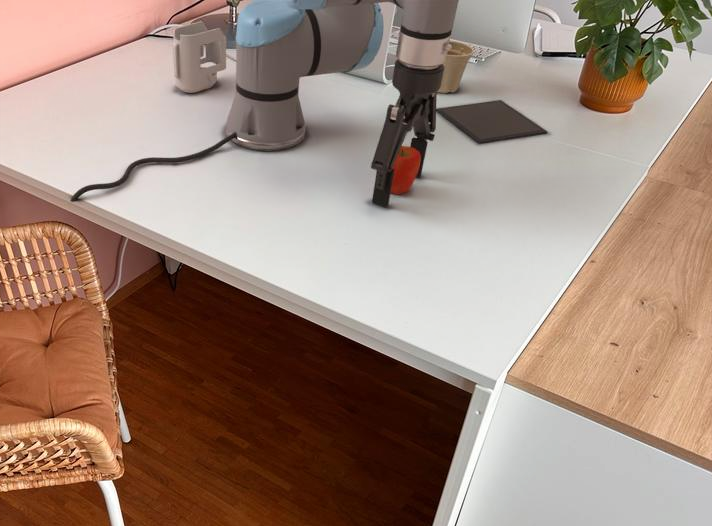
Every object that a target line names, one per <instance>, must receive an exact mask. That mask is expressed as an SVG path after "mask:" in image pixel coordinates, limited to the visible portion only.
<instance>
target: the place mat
mask: <svg viewBox="0 0 712 526" xmlns="http://www.w3.org/2000/svg"><path fill="white" fill-rule="evenodd" d="M436 113H438V114H439V115H441V116H442V117H443V118H445V119H446V120H447V121H449V123H451V124H452V125H453V126H455V127H456V128H458V129H459V130H460V131H461V132H463V133H464V134H465V135H467V136H468V137H469V138H470V139H472V140H473V141H474V142H476V143H477V144H478V145H481V144H487V143H493V142H499V141H507V140H512V139H519V138H526V137H533V136H538V135H547V134H548V131H547V130H546V129H544V128H543V127H542V126H540V125H538V124H537V123H535V122H534V121H532V120H531V119H529V118H528V117H527V116H525V115H524V114H522V113H521V112H519V110H516V109H515V108H513V107H511V106H510V105H509V104H508V103H506V102H504V101H503V100H502V99H500V100H499V99H498V100H490V101H484V102H477V103H468V104H463V105H462V104H461V105H456V106H455V105H454V106H448V107H447V106H446V107H440V108H436Z"/></svg>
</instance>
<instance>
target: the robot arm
mask: <svg viewBox="0 0 712 526" xmlns="http://www.w3.org/2000/svg"><path fill="white" fill-rule="evenodd" d="M459 2H460V1H459V0H252V1H250V2H249V3H247V4H245V5H244V6H243V8H241V9H240V11H239V13H238V15H237V19H236V20H237V21H236V22H237V23H236V32H235V42H236V43H235V51H236V54H235V55H236V56H235V57H236V58H235V61H236V63H235V66H236V68H235V95H234V97H233V100H232V104H231V107H230V109H229V113H228V116H227V118H226V123H225V128H226V129H225V134H226V137H224V138H223V139H221V140H220V141H218V142H217V143H216V144H214V145H212V146H210V147H208V148H206V149H204V150H201V151H199V152H195V153H192V154H188V155H184V156H178V157H177V156H176V157H154V156H153V157H145V158H140V159H137V160H135V161H133V162H131V163H130V164H129V165H128V167H127V168H126V169H125V171H124V174H123V175H122V176H121V177H120V178H119V179H118V180H115V181H113V182H112V181H111V182H107V183H105V182H104V183H94V184H88V185H85V186H83V187H81V188H80V189H78V190H77V191H75V193H74V194H73V195H72V196H71V198H70V200H69V202H70V203H75V202H77V201H78V200H79V198H80V197H81V196H82V195H83V194H85V193H87V192H91V191H96V190H110V189H114V188H117V187H119V186H121V185H123V184H124V183H125V182H127V180H128V179H129V177H130V175H131V173H132V172H133V170H134V169H135V168H136V167H138V166H141V165H145V164H154V163H155V164H157V163H159V164H160V163H161V164H177V163H184V162H188V161H192V160H196V159H199V158H202V157H204V156H206V155H208V154H210V153H212V152H214V151H217V150H218V149H220V148H221V147H223V146H224V145H225V144H227V143H229V142H230V141H231V142H233V143H234V144H236V145H238V146H241V147H243V148H246V149H250V150H256V151H267V152H269V151H272V152H273V151H281V150H286V149H290V148H293V147H295V146H297V145H299V144H300V143H301V142H302V141H303V140H304V139H305V137H306V121H305V117H304V112H303V109H302V105H301V100H300V97H299V92H300V91H299V90H300V89H299V88H300V79H301V78H304V77H312V76H313V77H314V76H320V75H328V74H337V73H347V74H348V73H350V72H353V71H358V70H362V69H365V68H367V67H368V66H369V65H371V64H372V63H373V61H374V60H375V58H376V57H377V56H378V53H379V52H380V49H381V46H382V41H383V39H384V38H383V37H384V27H385V25H384V23H385V22H384V14H383V13H382V8H381V6H380V3H391V4H393V5H395V6H397V7H399V8H400V9H402V16H401V23H400V28H399V34H398V39H397V44H396V45H397V46H396V50H395V51H396V52H395V57H396V60H395V62H394V67H393V72H392V78H391V84H392V86H393V87H394V88H395V89H396V90H397V91H398V92H399V96H398V99H397V100H396V102H395V104H388V106H387V110H386V115H385V120H384V123H383V127H382V129H381V132H380V136H379V139H378V142H377V145H376V148H375V152H374V155H373V159H372V161H371V164H370V169H372V170H374V171H376V172H375V179H374V185H373V190H372V191H373V192H372V198H371V203H372V204H376V205H378V206H381V207H384V208H388V206H389V204H390V198H391V194H392V193H391V187H392V182H393V176H394V169H392V168H393V165H394V163H395V161H396V158H397V156H398V153H399V151H400V149H401V146H403V144H404V141H405V139H406V137H407V134H408V133H410V132H411V131H412V130H413V134H414V136H413V137H412V138H411V139H410V140H411V141H410V146H409V147H412V148H415V149H416V150H417V151H419V153H420V155H421V161H420V167H419V170H418V173H417V175H416V178H421V177H422V173H423V168H424V163H425V159H426V153H427V148H428V144H429V141H430V142H433V141H434V139H435V137H436V134H434V133H435V132H436V130H437V129H436V128H437V111H436V109H437V97H438V92H437V91H438V90H439V89H440V87H441V83H442V78H443V73H444V65H443V63H444V62H445V61H446V57H447V52H448V51H450V50H451V48H452V45H451V44H449V42H450V41H451V36H452V32H453V28H454V24H455V19H456V14H457V9H458V5H459Z"/></svg>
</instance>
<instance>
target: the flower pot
mask: <svg viewBox="0 0 712 526" xmlns="http://www.w3.org/2000/svg"><path fill="white" fill-rule="evenodd" d="M449 44H451V45H452V48H451V50H450V51H448V52H447V57H446V61H445V62H444V63H443V65H444V73H443V78H442V83H441V87H440V89H439V90H438V91H437V93H442V94H447V93H455V92H457V91H458V89H459V86H460V83H461V80H462V78H463V75H464V73H465V70H466V68H467V66H468V62H469V61H470V59H471V57H472V55H474V53H475V49H474V48H473V47H472V46H471V45H469V44H467V43H464V42H460V41H455V40H450V42H449Z"/></svg>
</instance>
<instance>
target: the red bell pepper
mask: <svg viewBox="0 0 712 526" xmlns="http://www.w3.org/2000/svg"><path fill="white" fill-rule="evenodd" d="M420 161H421V155H420V153H419V151H417V150H416V149H415V148H412V147H410V146H407V145H402V146H401V149H400V151H399V153H398V156H397V158H396V161H395V163H394V165H393V168H392V169H394V176H393V182H392V187H391V193H390V194H394V195H401V194H405V193H408V192H409V190H410V189H411V188H412V187H413V185H414V182H415V180H416V178H417V177H416V175H417V173H418V170H419V167H420Z"/></svg>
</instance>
